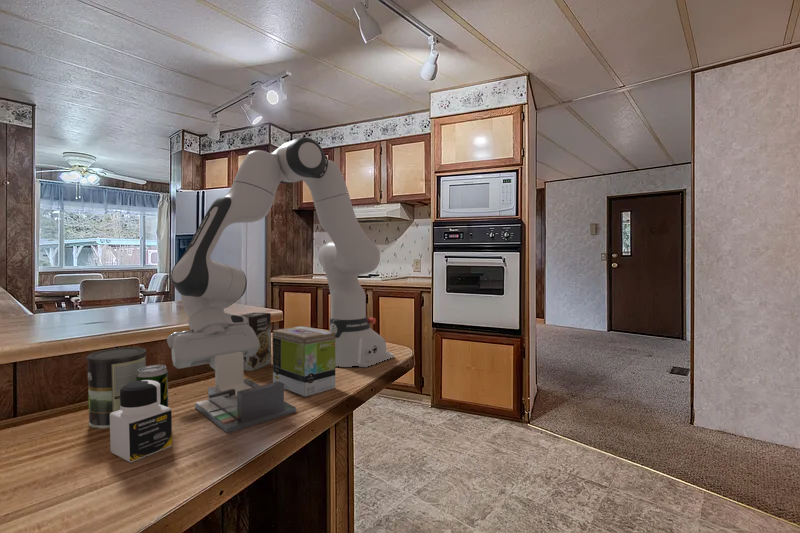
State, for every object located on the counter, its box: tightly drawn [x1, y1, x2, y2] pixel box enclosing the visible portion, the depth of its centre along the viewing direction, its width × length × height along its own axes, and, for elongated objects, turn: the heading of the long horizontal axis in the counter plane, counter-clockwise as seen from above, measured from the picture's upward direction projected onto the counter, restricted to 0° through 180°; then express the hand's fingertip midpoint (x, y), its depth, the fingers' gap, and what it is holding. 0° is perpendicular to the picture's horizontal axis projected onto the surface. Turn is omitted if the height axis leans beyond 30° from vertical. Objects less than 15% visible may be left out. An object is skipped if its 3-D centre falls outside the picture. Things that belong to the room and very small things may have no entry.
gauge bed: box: [194, 378, 297, 434], centre depth 92 cm, size 15×18×7 cm
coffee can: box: [86, 346, 147, 430], centre depth 87 cm, size 10×10×14 cm
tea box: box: [272, 325, 336, 398], centre depth 108 cm, size 15×10×15 cm
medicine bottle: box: [109, 380, 173, 463], centre depth 73 cm, size 7×7×12 cm
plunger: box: [209, 352, 252, 400], centre depth 93 cm, size 10×9×10 cm
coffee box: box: [239, 312, 272, 372], centre depth 126 cm, size 9×6×16 cm
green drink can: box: [136, 364, 170, 408], centre depth 82 cm, size 5×5×12 cm
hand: (226, 374), depth 99 cm, fingers closed
